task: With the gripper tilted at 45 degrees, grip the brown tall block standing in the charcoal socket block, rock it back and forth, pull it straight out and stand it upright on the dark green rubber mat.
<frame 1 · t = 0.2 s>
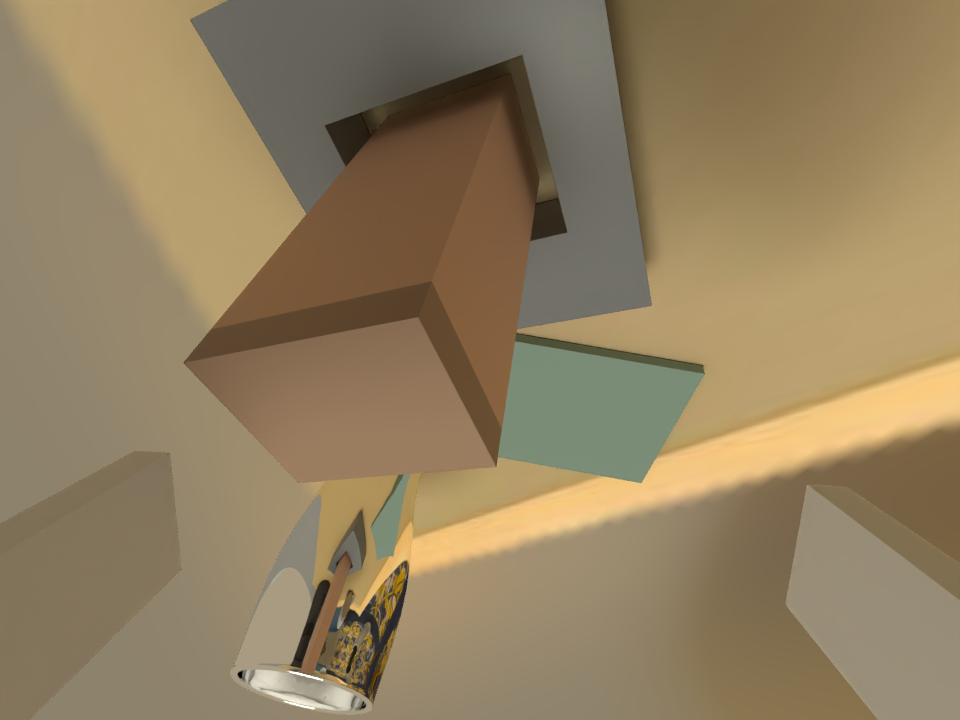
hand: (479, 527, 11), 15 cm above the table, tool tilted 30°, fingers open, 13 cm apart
brown tall block: (464, 148, 20), resting in socket block
mat: (581, 411, 30), on the table
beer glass: (392, 430, 34), on the table
socket block: (464, 148, 20), on the table
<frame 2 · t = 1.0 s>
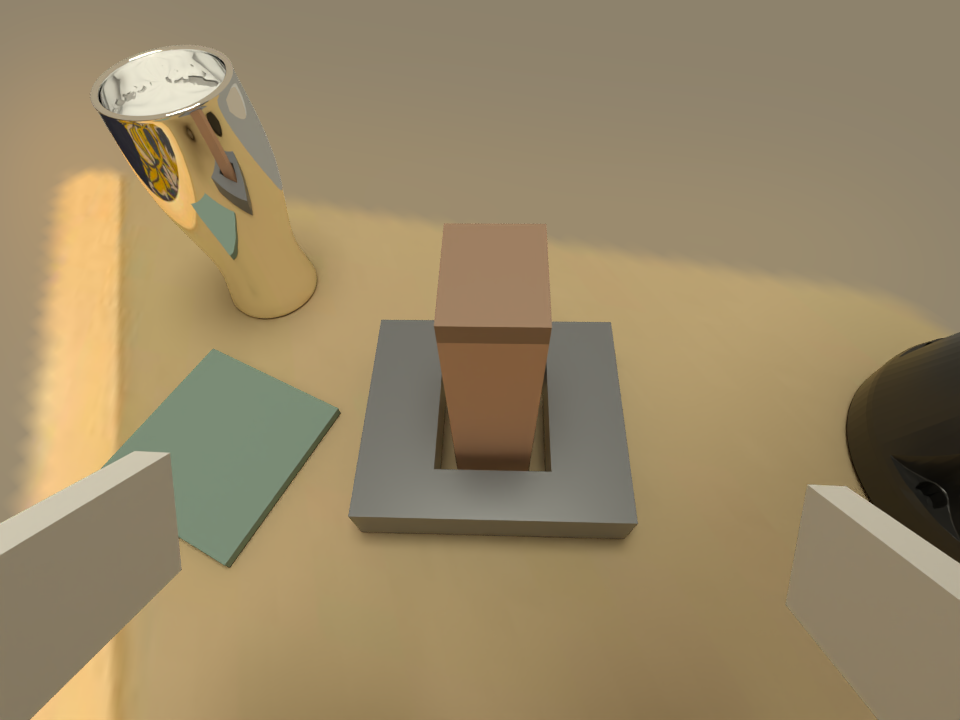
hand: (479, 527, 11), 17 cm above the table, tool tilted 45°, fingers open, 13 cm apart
brown tall block: (493, 432, 30), resting in socket block
mat: (222, 447, 30), on the table
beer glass: (276, 287, 37), on the table
socket block: (493, 431, 30), on the table
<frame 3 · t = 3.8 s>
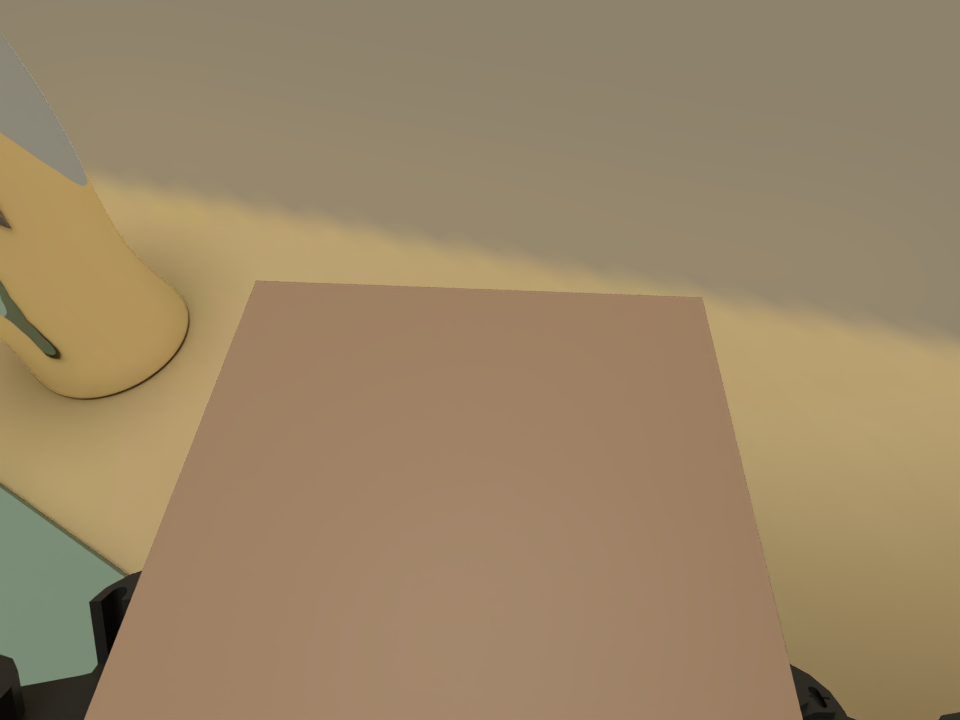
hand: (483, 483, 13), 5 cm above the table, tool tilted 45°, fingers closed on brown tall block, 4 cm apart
brown tall block: (476, 669, 15), resting in socket block, touching gripper
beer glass: (118, 339, 22), on the table
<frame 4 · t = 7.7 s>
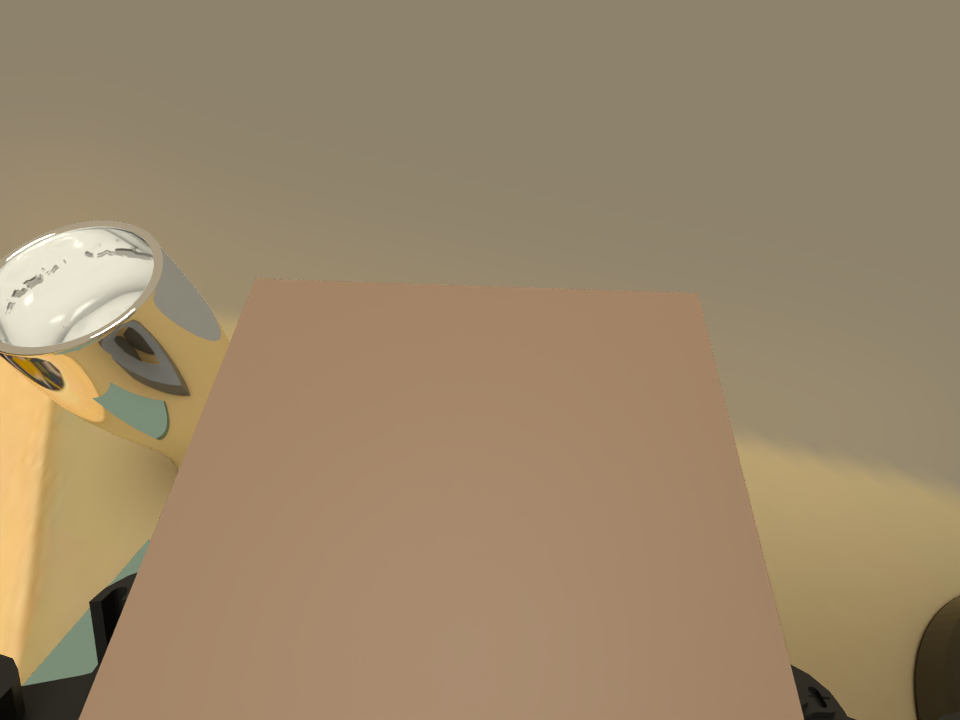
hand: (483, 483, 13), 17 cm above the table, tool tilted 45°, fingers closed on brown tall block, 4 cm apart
brown tall block: (476, 676, 15), point 12 cm above the table, touching gripper
mat: (148, 688, 24), on the table
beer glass: (233, 446, 31), on the table
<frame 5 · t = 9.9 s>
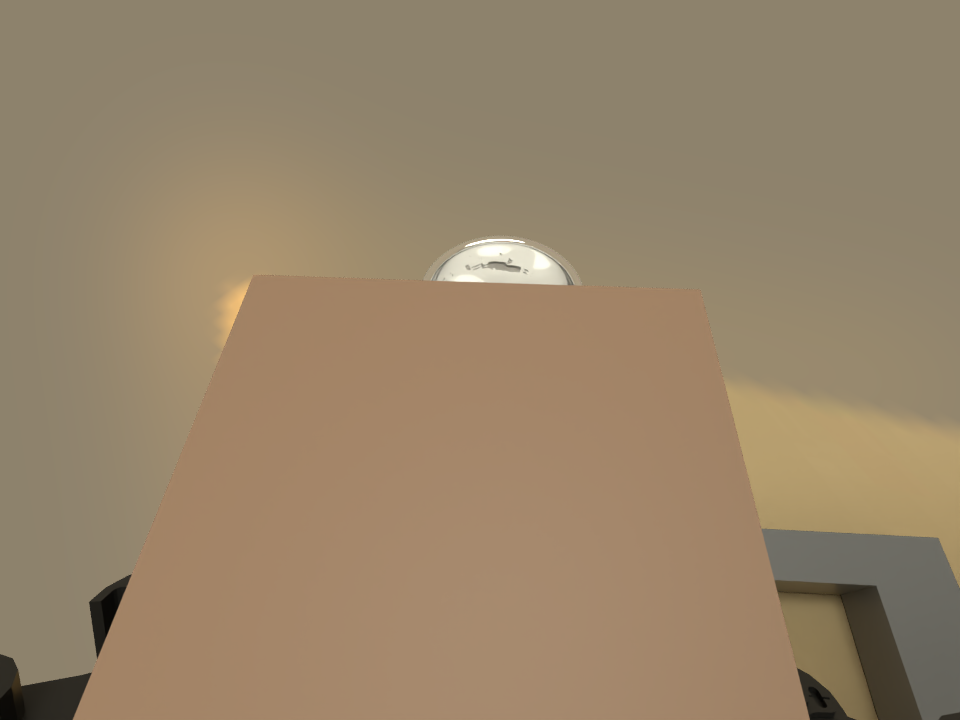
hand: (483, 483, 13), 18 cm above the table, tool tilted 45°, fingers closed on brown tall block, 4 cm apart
brown tall block: (477, 676, 15), point 13 cm above the table, touching gripper
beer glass: (495, 447, 33), on the table
socket block: (803, 666, 26), on the table
when the fingers open (7 cm above the table, at t = 11.9 s): brown tall block drops 1 cm, resting on mat.
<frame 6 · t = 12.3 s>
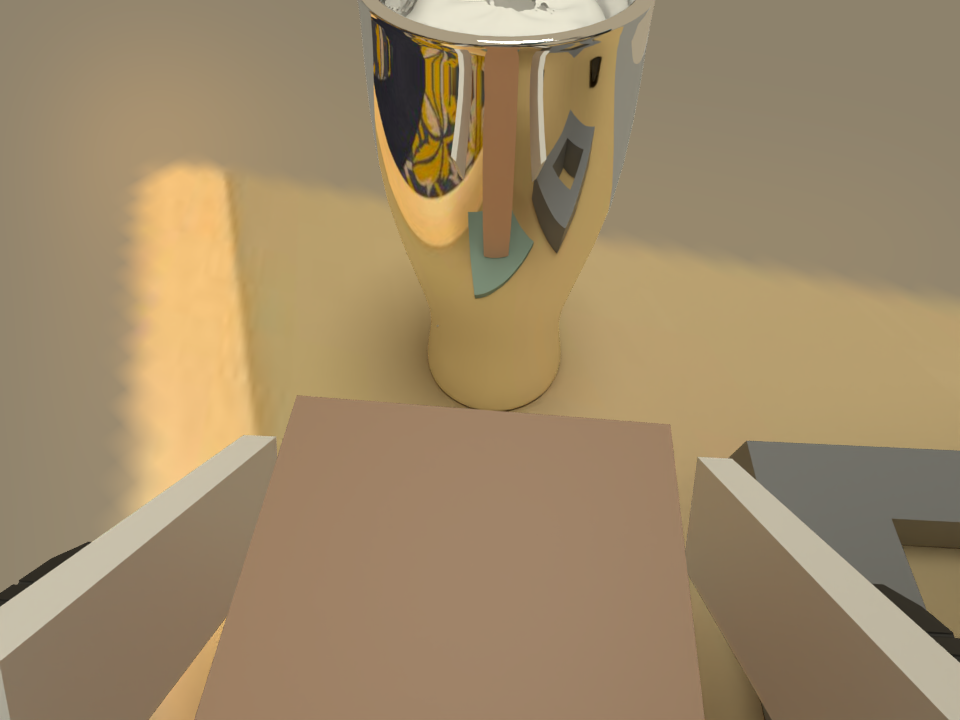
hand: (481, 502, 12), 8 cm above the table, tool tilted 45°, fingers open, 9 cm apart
brown tall block: (476, 678, 16), point 1 cm above the table, touching mat
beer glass: (493, 356, 24), on the table
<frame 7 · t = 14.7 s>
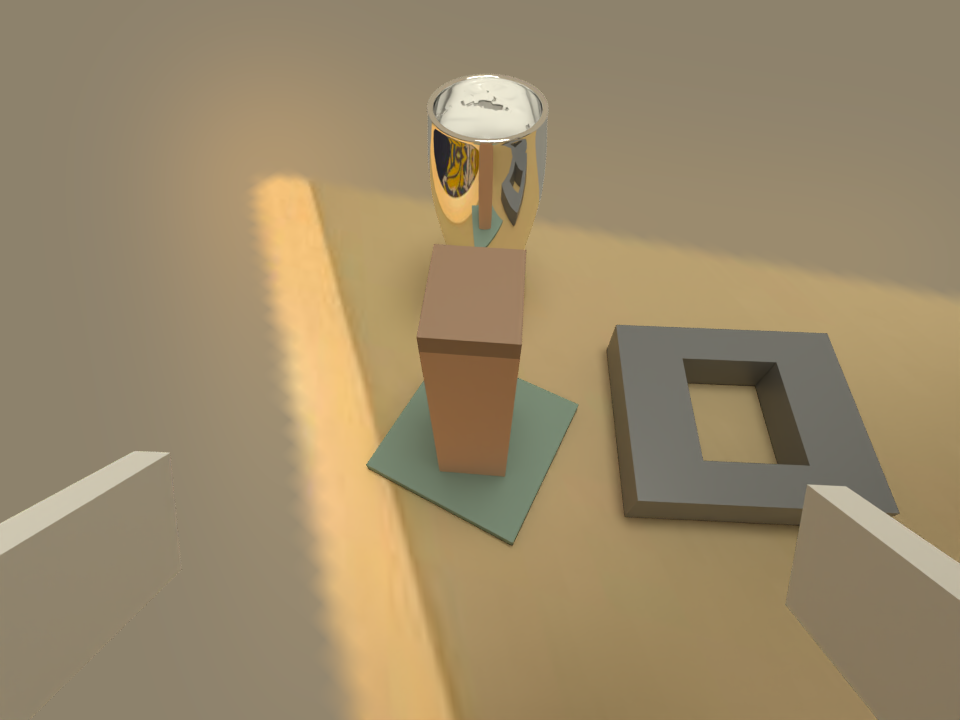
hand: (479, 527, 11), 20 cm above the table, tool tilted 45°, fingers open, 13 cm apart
brown tall block: (475, 436, 32), point 1 cm above the table, touching mat
mat: (476, 437, 33), on the table
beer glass: (485, 291, 40), on the table
socket block: (722, 429, 33), on the table
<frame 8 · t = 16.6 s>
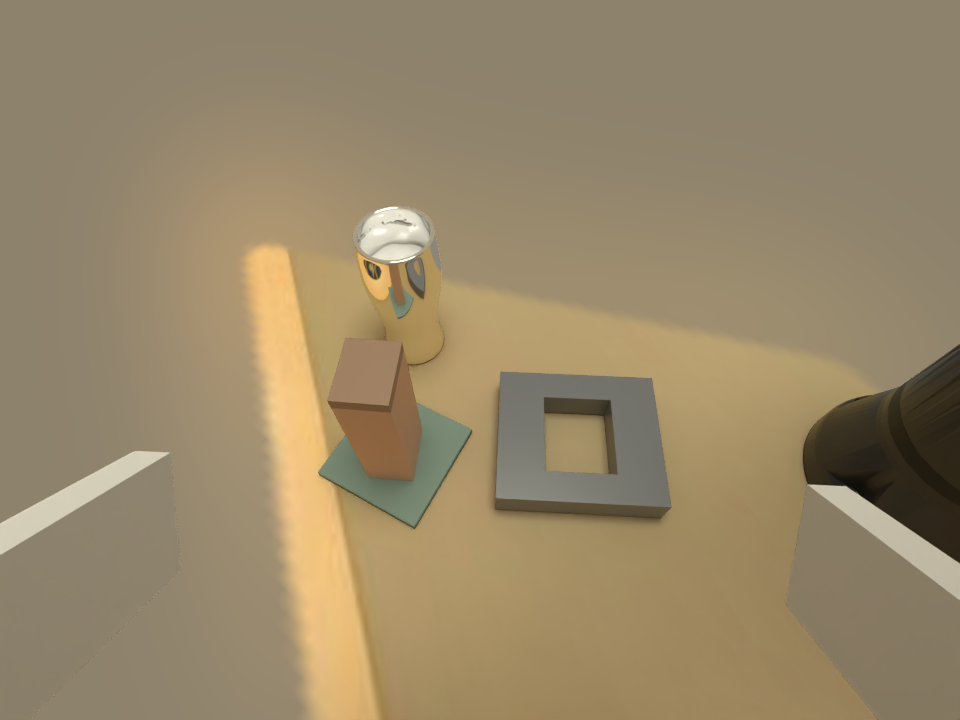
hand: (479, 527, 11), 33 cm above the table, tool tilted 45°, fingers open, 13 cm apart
brown tall block: (396, 452, 46), point 1 cm above the table, touching mat
mat: (397, 453, 46), on the table
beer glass: (415, 341, 53), on the table
socket block: (574, 447, 47), on the table
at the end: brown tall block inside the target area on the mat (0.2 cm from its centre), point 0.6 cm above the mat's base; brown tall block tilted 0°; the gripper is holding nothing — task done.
